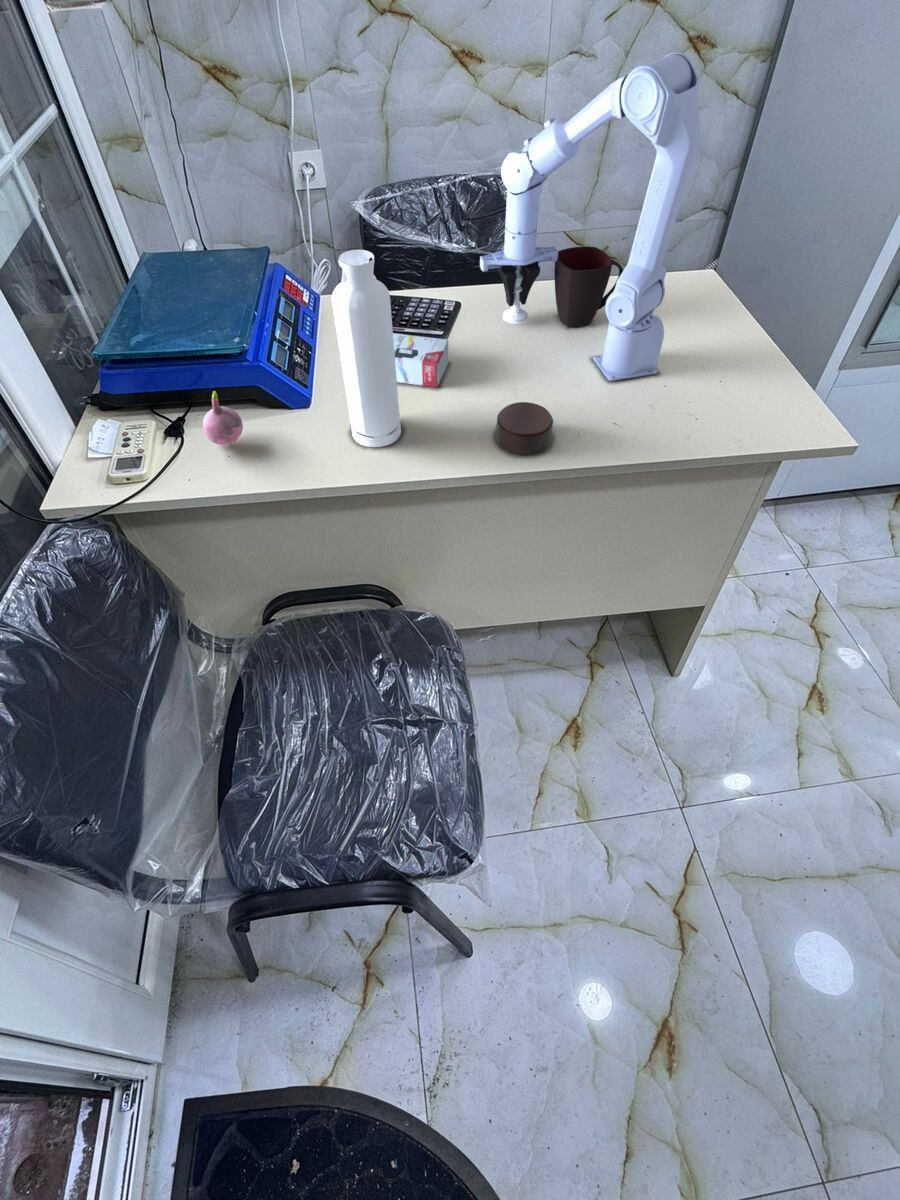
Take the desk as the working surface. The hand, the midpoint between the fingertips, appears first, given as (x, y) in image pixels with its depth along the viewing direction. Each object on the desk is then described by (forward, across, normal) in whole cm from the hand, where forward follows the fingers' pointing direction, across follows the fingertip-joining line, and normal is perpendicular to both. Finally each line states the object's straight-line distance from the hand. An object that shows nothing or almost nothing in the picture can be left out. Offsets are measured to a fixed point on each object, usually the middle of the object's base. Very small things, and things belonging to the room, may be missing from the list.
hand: (516, 303), depth 125 cm
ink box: (+2, +18, +14) cm, 23 cm away
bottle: (+4, +33, +27) cm, 43 cm away
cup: (+4, -14, +2) cm, 15 cm away
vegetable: (+4, +57, +24) cm, 62 cm away
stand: (+4, +10, +35) cm, 37 cm away
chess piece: (+3, 0, 0) cm, 3 cm away
